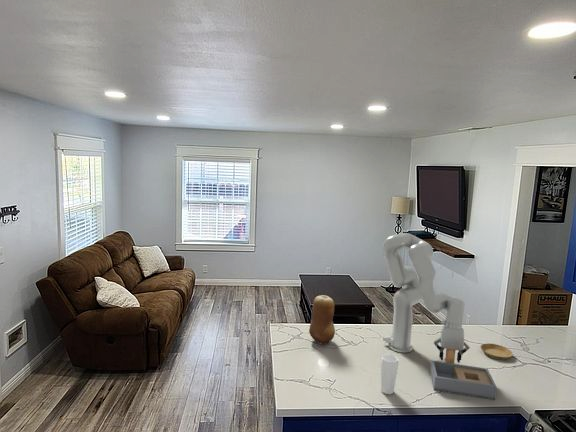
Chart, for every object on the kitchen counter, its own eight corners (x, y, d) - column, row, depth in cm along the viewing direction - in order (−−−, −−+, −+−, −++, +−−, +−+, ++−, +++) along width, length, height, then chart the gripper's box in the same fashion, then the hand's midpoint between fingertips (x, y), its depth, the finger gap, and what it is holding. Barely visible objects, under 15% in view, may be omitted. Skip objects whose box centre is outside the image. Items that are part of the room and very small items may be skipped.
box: (433, 390, 170) (435, 377, 169) (430, 372, 185) (431, 360, 184) (494, 400, 165) (496, 386, 164) (486, 381, 179) (487, 368, 178)
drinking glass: (377, 386, 171) (379, 354, 169) (392, 386, 171) (395, 354, 169) (382, 396, 164) (384, 362, 162) (397, 396, 165) (400, 362, 163)
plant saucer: (518, 361, 199) (519, 356, 199) (492, 362, 197) (493, 357, 197) (498, 347, 214) (499, 342, 213) (474, 348, 211) (474, 343, 211)
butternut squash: (338, 341, 213) (341, 296, 210) (327, 350, 202) (329, 303, 198) (315, 334, 220) (318, 290, 217) (303, 342, 209) (305, 297, 206)
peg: (445, 368, 189) (447, 348, 187) (444, 364, 192) (446, 345, 191) (454, 370, 188) (456, 350, 186) (452, 365, 192) (454, 346, 190)
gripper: (435, 325, 185) (431, 361, 188) (475, 330, 181) (471, 366, 184) (433, 319, 193) (429, 353, 195) (471, 324, 189) (467, 359, 191)
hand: (449, 359), depth 190 cm, fingers open, 6 cm apart
